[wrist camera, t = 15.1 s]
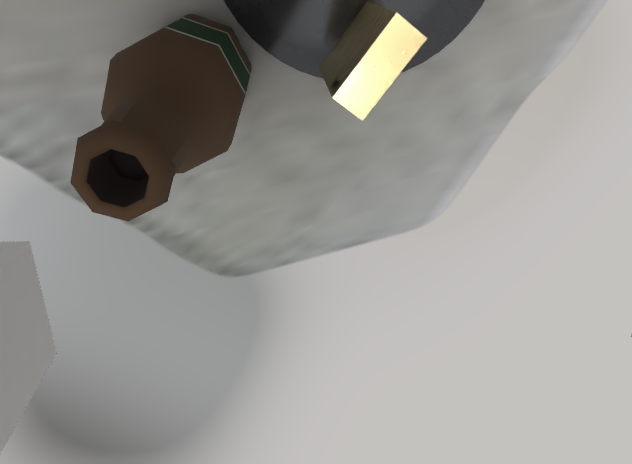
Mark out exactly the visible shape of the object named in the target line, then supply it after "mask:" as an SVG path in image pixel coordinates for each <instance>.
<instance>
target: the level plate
mask: <svg viewBox="0 0 632 464" xmlns="http://www.w3.org/2000/svg"><path fill="white" fill-rule="evenodd" d="M224 1H225V3H226V5H227V6H228V8H229V9H230V11H231V12H232V14H233V15H234V17H235V18H236V20H237V21H238V23H239V24H240V25H241V26H242V27H243V28H244V29H245V31H246V32H247V33H248V34H249V35H250V36H251V38H253V39H254V40H255V41H256V42H257V43H258V44H259V45H260V46H261V47H263V48H264V49H265V50H266V51H267V52H269V53H270V54H272V55H273V56H274V57H276V58H277V59H279V60H280V61H282V62H283V63H285V64H287V65H289V66H291V67H293V68H295V69H297V70H299V71H302V72H305V73H308V74H311V75H313V76H316V77H321V78H324V77H323V75H322V73H321V70H320V68H319V67H320V65H321V64H322V62H323V61H324V60H325V58H326V57H327V56H328V54H329V53H330V51H331V50H332V49H333V47H334V46H335V44H336V43H337V42H338V40H339V39H340V38H341V36H342V35H343V33H344V32H345V31H346V29H347V28H348V27H349V25H350V24H351V22H352V21H353V20H354V18H355V17H356V16H357V14H358V13H359V11H360V10H361V9H362V7H363V6H364V5H365V3H366V2H367V1H368V2H371V3H373V4H376V5H379V6H381V7H384V8H387V9H389V10H392V11H395V12H397V13H398V14H399V15H401V16H402V17H403V18H404V19H405V20H406V21H408V22H409V23H410V24H411V25H412V26H413V27H415V28H416V29H417V30H418V31H419V32H420V33H422V34H423V35H424V36H425V37H426V38H427V39H426V41H425V42H424V43H423V44H422V46H421V47H420V48H419V49H418V51H417V52H416V53H415V55H414V56H413V57H412V58H411V60H410V61H409V62H408V63H407V65H406V66H405V67H404V69H403V70H402V71H401V72H404V71H406V70H408V69H410V68H412V67H414V66H416V65H419V64H421V63H423V62H424V61H426V60H427V59H429V58H430V57H432V56H433V55H435V54H436V53H438V52H439V51H441V50H442V49H443V48H444V47H445V46H446V45H448V44H449V43H450V42H451V41H452V40H454V39H455V38H456V36H457V35H458V34H459V33H460V32H461V31H462V30H463V29H464V28H465V27H466V26H467V25H468V24H469V22H470V21H471V20H472V18H473V17H474V16H475V14H476V13H477V12H478V10H479V9H480V7H481V6H482V4H483V2H484V1H485V0H224ZM401 72H400V73H401Z"/></svg>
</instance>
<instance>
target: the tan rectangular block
mask: <svg viewBox="0 0 632 464" xmlns="http://www.w3.org/2000/svg"><path fill="white" fill-rule="evenodd" d="M426 39H427V38H426V37H425V36H424V35H423V34H422V33H420V32H419V31H418V30H417V29H416V28H415V27H413V26H412V25H411V24H410V23H409V22H408V21H406V20H405V19H404V18H403V17H402V16H401V15H399V14H398V13H397V12H395V11H392V10H389V9H387V8H384V7H381V6H379V5H376V4H373V3H371V2H368V1H367V2H366V3H365V5H364V6H363V7H362V9H361V10H360V11H359V13H358V14H357V16H356V17H355V18H354V20H353V21H352V22H351V24H350V25H349V27H348V28H347V29H346V31H345V32H344V33H343V35H342V36H341V38H340V39H339V40H338V42H337V43H336V44H335V46H334V47H333V49H332V50H331V51H330V53H329V54H328V56H327V57H326V58H325V60H324V61H323V62H322V64H321V65H320V67H319V68H320V70H321V73H322V75H323V77H324V80H325V82H326V84H327V87H328V89H329V91H330V94H331V96H332V98H333V99H334V100H336V101H337V102H338V103H340V104H341V105H342V106H344V107H345V108H346V109H348V110H349V111H350V112H352V113H353V114H354V115H356V116H357V117H358V118H360V119H361V120H362V121H363V119H364V118H365V117H366V116H367V114H368V113H369V112H370V110H371V109H372V108H373V107H374V105H375V104H376V103H377V102H378V100H379V99H380V98H381V96H382V95H383V94H384V93H385V91H386V90H387V89H388V88H389V86H390V85H391V84H392V82H393V81H394V80H395V79H396V77H397V76H398V75H399V74H400V72H401V71H402V70H403V69H404V67H405V66H406V65H407V63H408V62H409V61H410V60H411V58H412V57H413V56H414V55H415V53H416V52H417V51H418V49H419V48H420V47H421V46H422V44H423V43H424V42H425V41H426Z"/></svg>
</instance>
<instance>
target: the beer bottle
mask: <svg viewBox="0 0 632 464" xmlns="http://www.w3.org/2000/svg"><path fill="white" fill-rule="evenodd" d="M251 69H252V68H251V64H250V62H249V60H248V58H247V56H246V54H245V52H244V50H243V49H242V47H241V45H240V43H239V41H238V39H237V37H236V35H235V33H234V32H233V30H232V28H230V27H227V26H225V25H222V24H219V23H216V22H213V21H210V20H207V19H205V18H202V17H199V16H196V15H193V14H188V15H186V16H184V17H183V18H181V19H179V20H177V21H175V22H173V23H171V24H170V25H168V26H166V27H164V28H162V29H160V30H159V31H157V32H155V33H153V34H151V35H149V36H148V37H146V38H144V39H142V40H140V41H139V42H137V43H135V44H133V45H131V46H130V47H128V48H126V49H124V50H122V51H120V52H119V53H117V54H116V55H115V56H114V57H113V58H112V59H111V60H110V66H109V71H108V77H107V83H106V88H105V94H104V100H103V105H102V111H101V114H102V117H103V120H104V123H103V124H102V125H101V126H100V127H98V128H96V129H94V130H92V131H90V132H89V133H87V134H85V135H83V136H81V137H79V138H78V140H77V146H76V152H75V159H74V165H73V171H72V177H71V184H72V185H73V187H74V188H75V189H76V191H77V192H78V193H79V195H80V196H81V197H82V199H83V200H84V201H85V203H86V204H87V205H88V206H89V208H90V209H91V210H92V212H95V213H99V214H102V215H106V216H110V217H114V218H117V219H121V220H125V221H130V220H132V219H134V218H136V217H138V216H140V215H142V214H144V213H146V212H148V211H150V210H152V209H154V208H156V207H158V206H160V205H162V204H163V203H165V202H167V201H168V197H169V193H170V189H171V185H172V181H173V177H174V175H175V174H176V173H184V172H186V171H188V170H190V169H192V168H194V167H196V166H198V165H200V164H202V163H204V162H206V161H208V160H210V159H212V158H214V157H216V156H218V155H220V154H222V153H224V152H226V151H227V150H228V149H229V147H230V145H231V143H232V140H233V136H234V133H235V129H236V126H237V122H238V119H239V115H240V112H241V108H242V105H243V101H244V98H245V94H246V90H247V86H248V82H249V77H250V73H251Z"/></svg>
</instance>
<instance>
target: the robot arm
mask: <svg viewBox="0 0 632 464" xmlns="http://www.w3.org/2000/svg"><path fill="white" fill-rule="evenodd" d="M631 337H632V335H631ZM56 354H57V352H56V348H55V344H54V340H53V336H52V331H51V327H50V324H49V319H48V315H47V311H46V307H45V303H44V299H43V295H42V290H41V286H40V282H39V278H38V274H37V270H36V266H35V262H34V258H33V254H32V250H31V245H30V242H0V453H1V451H2V449H3V448H4V446H5V444H6V442H7V441H8V439H9V437H10V435H11V434H12V432H13V430H14V428H15V426H16V425H17V423H18V421H19V419H20V418H21V416H22V414H23V412H24V411H25V409H26V407H27V405H28V404H29V402H30V400H31V398H32V396H33V394H34V393H35V391H36V389H37V388H38V386H39V384H40V382H41V381H42V379H43V377H44V375H45V374H46V372H47V370H48V368H49V366H50V365H51V363H52V361H53V359H54V357H55V356H56Z"/></svg>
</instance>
